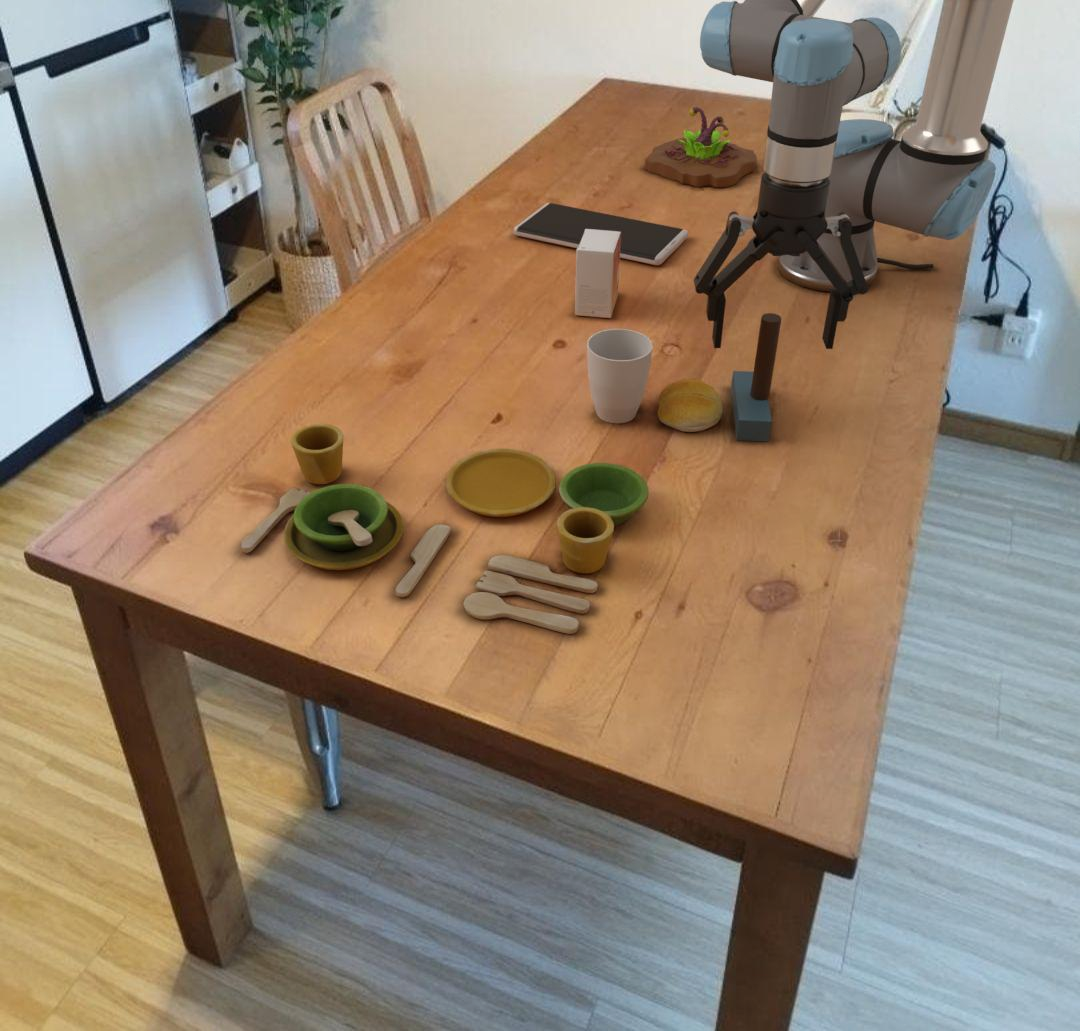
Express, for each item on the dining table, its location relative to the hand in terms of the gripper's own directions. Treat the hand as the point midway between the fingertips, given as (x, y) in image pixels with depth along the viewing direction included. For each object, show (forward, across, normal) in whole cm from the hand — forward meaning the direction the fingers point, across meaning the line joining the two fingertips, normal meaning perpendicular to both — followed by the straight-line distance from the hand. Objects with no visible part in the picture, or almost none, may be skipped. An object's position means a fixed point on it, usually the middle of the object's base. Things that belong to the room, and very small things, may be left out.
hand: (771, 343), depth 132 cm
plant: (+12, 0, -89) cm, 89 cm away
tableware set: (+10, +38, +23) cm, 46 cm away
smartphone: (+11, +20, -55) cm, 59 cm away
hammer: (+10, +1, 0) cm, 10 cm away
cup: (+10, +19, 0) cm, 21 cm away
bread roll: (+10, +10, 0) cm, 14 cm away
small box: (+11, +21, -30) cm, 38 cm away
